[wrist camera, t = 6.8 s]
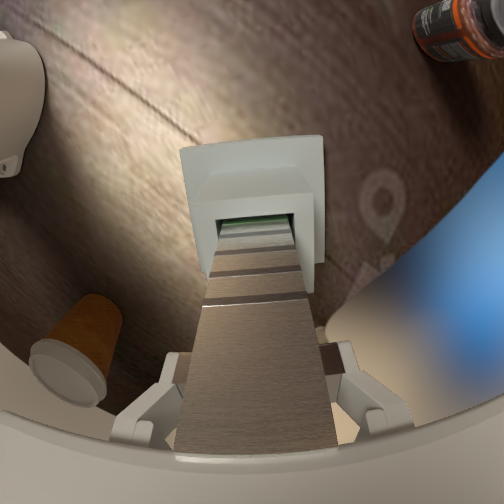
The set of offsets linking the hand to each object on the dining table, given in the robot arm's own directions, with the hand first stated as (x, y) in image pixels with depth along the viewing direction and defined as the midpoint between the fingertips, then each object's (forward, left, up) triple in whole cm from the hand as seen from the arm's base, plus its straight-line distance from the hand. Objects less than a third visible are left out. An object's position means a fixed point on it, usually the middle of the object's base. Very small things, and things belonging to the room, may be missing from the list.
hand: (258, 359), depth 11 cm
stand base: (0, 0, -19) cm, 19 cm away
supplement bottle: (+19, +17, -19) cm, 32 cm away
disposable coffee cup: (-21, -12, -19) cm, 31 cm away
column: (0, 0, -11) cm, 11 cm away
